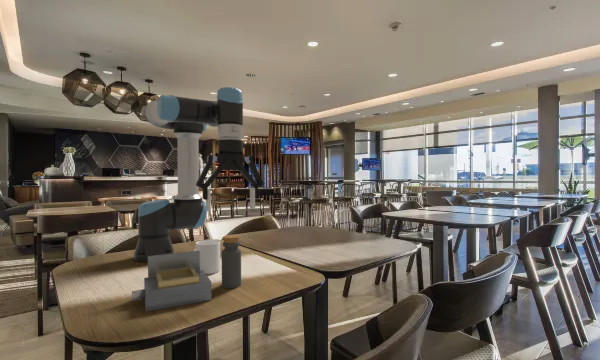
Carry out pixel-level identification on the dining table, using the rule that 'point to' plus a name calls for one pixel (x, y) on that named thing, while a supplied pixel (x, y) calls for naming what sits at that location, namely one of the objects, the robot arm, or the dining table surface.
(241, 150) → the robot arm
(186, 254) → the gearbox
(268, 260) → the dining table surface
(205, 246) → the mug
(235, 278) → the bottle
